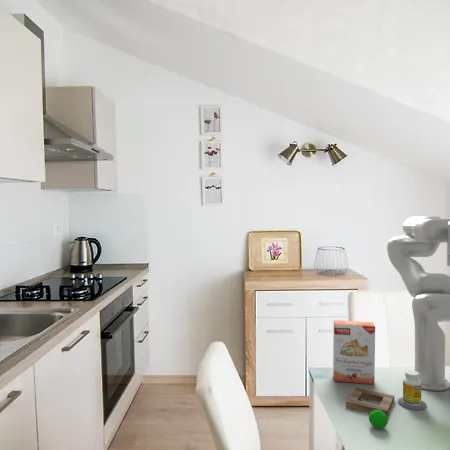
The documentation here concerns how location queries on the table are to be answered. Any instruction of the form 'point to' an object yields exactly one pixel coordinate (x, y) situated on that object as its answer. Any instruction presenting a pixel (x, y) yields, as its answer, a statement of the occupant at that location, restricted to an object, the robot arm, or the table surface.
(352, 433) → the table surface
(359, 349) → the cracker box
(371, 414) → the polyhedron
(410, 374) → the supplement bottle
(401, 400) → the slate coaster
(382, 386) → the table surface
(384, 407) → the holder block
